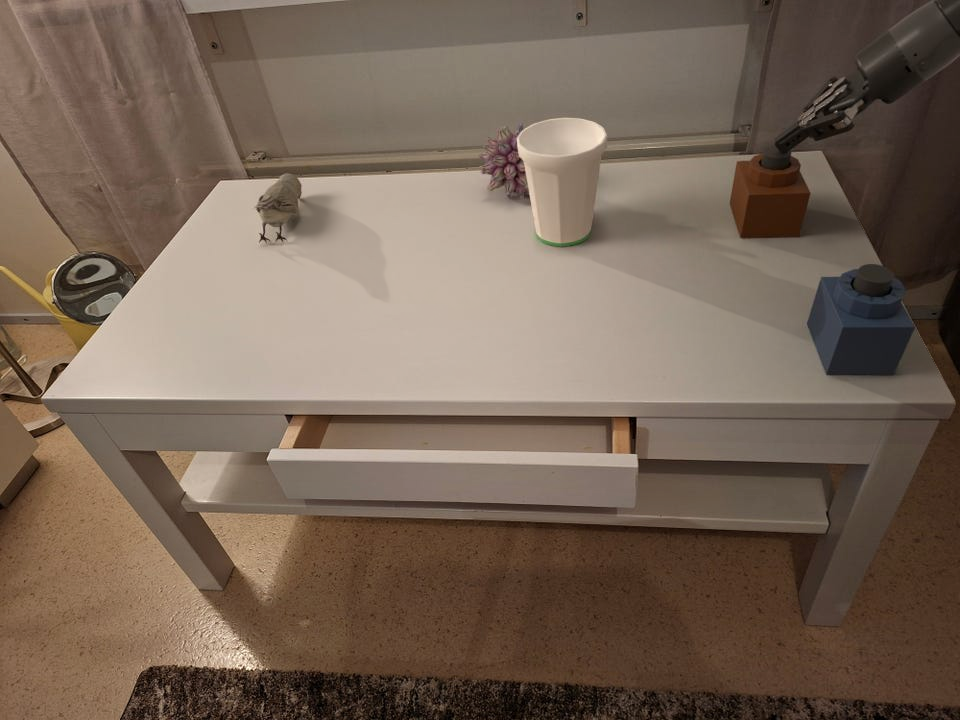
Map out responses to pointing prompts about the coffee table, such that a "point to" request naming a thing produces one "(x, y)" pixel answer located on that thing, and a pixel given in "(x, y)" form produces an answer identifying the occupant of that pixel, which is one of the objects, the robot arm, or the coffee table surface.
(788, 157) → the grey round disc
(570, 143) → the cup
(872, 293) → the dark grey round cap
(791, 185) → the brown block with collar
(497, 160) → the flower
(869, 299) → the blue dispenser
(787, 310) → the coffee table surface
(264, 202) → the decorative bird
